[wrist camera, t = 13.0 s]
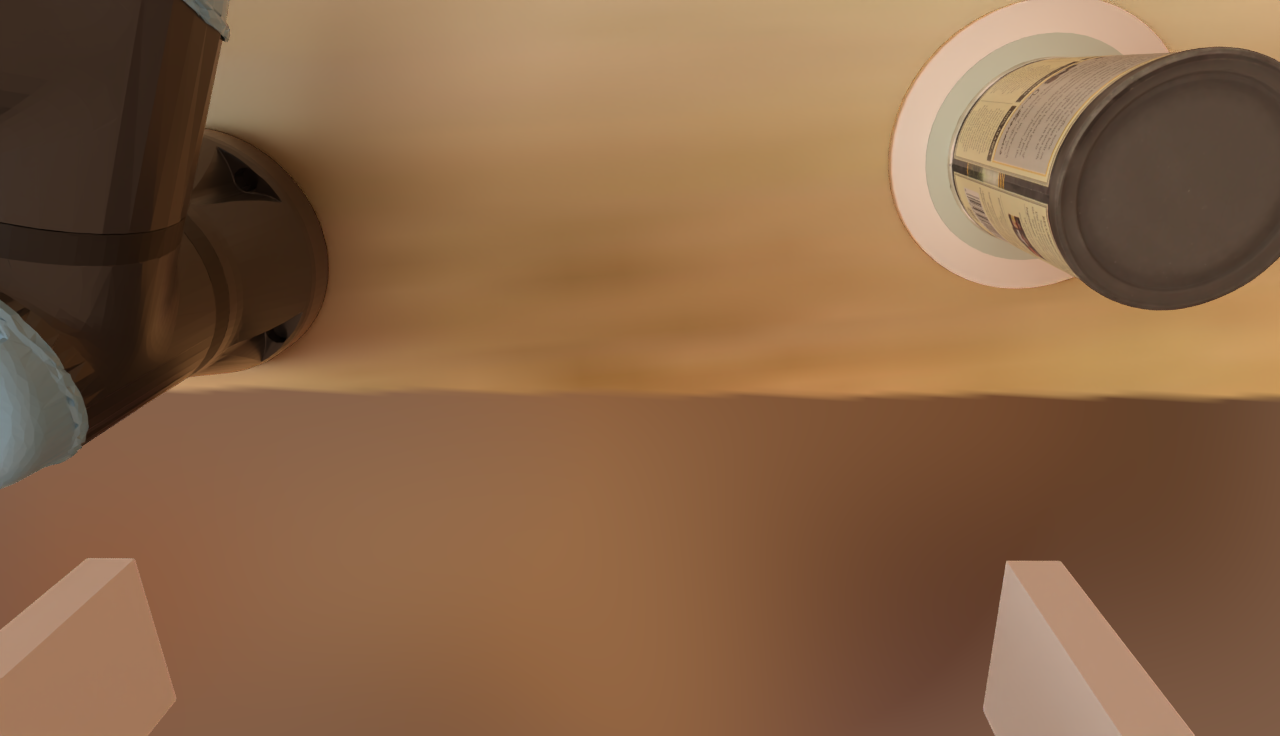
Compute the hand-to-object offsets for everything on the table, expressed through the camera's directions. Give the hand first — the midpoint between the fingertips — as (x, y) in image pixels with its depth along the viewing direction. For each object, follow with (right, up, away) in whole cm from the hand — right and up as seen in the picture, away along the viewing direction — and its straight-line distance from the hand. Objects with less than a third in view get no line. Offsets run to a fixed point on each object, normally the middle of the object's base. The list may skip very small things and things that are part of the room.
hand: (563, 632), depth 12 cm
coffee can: (+24, +16, +33) cm, 44 cm away
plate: (+24, +17, +34) cm, 45 cm away
